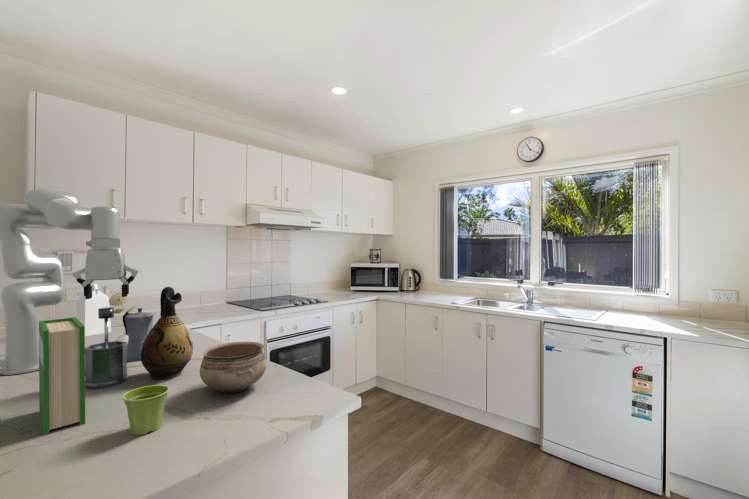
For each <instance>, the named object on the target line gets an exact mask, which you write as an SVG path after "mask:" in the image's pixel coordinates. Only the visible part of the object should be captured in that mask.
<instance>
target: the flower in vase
mask: <svg viewBox="0 0 749 499" xmlns="http://www.w3.org/2000/svg"><path fill="white" fill-rule="evenodd" d="M128 300H129V294H127V296H126V297H122V290H121V291H116V292H115V293H113V294H112V295H111V296H110V298H109V305H110V306H111V307H112V306H114V307H119V306H121V307H122V308H116V309H114V314H117V315H119V314H121V313H122V312H123V311H124V313H126V312H128V313H132V311H134V310H135V305H134V306H132V307H129V308H128V309H127V310H125V309H124V305H123V304H125V303H126V302H127V301H128ZM125 320H126V319H125ZM128 340H129V339H128V335H126V331H125V330H124V332H123V334H121V335H120V336H119V337H117V338H116V339H115V341H122V342H127V344H128Z"/></svg>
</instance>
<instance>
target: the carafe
mask: <svg viewBox="0 0 749 499" xmlns="http://www.w3.org/2000/svg"><path fill="white" fill-rule="evenodd" d="M127 380H128V361H127V342H122V341H116V340H114V341H108V348H105V341H103V342H100V343H99V342H98V343H95V344H91V345H88V346H87V347H85V389H88V390H89V389H90V390H98V389H105V388H110V387H113V386H114V387H115V386H117V385H118V386H119V385H120V384H122V383H125V382H126V381H127Z"/></svg>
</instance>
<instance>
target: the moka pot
mask: <svg viewBox="0 0 749 499" xmlns="http://www.w3.org/2000/svg"><path fill="white" fill-rule="evenodd" d="M154 316H155V314H154V313H151V312H146V311H145V312H144V311H143V308H142V307H139V308H137V312H135V313H133V312H127V311H126V312H124V314H123V315H122V324H123V327H124V332H125V331H126V335H128V339H129V340H128V344H127V362H128V361H129V362H138V361H141V350H142V347H143V343H144V341H145V339H146V337H147V335H148V334H149V332H150V330H151V329H152V328H153V322H154V318H155V317H154ZM125 319H126V320H125Z"/></svg>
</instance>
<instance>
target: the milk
mask: <svg viewBox="0 0 749 499" xmlns="http://www.w3.org/2000/svg"><path fill="white" fill-rule="evenodd" d="M90 286H92V298H90V299H86V296H84V292H83V293H82V294H80V295H79V297H78V298H77V300H76V318H77V319H78V320H79V321H80V322H81V323H82V324H83V325H84V326H85V337H88V336H94V335H102V334H104V319H99V318H98V309H100V308H108V307H111V305H110V303H109V299H110V298H109V296H108V295H107V294H105V293H104V292H103V291H101V289H99V287H98V284H97V283H91V284H90ZM108 333H112V323H111V318H108Z"/></svg>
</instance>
